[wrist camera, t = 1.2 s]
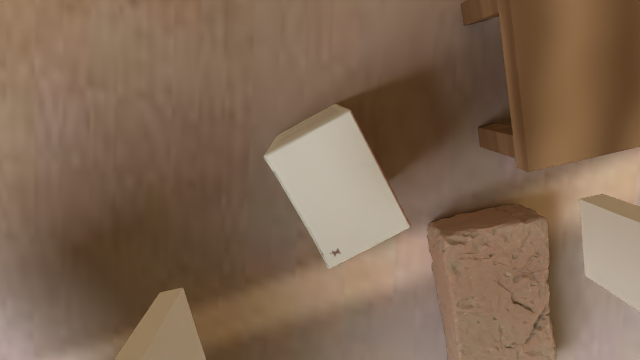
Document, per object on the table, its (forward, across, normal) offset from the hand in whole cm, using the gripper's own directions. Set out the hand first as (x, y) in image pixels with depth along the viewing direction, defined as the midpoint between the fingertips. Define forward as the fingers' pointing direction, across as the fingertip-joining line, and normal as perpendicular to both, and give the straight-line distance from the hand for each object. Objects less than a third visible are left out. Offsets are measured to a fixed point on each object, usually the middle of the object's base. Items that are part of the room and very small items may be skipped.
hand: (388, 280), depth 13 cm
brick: (+21, +11, -15) cm, 28 cm away
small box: (+21, 0, 0) cm, 21 cm away
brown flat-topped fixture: (+20, +18, +4) cm, 27 cm away
